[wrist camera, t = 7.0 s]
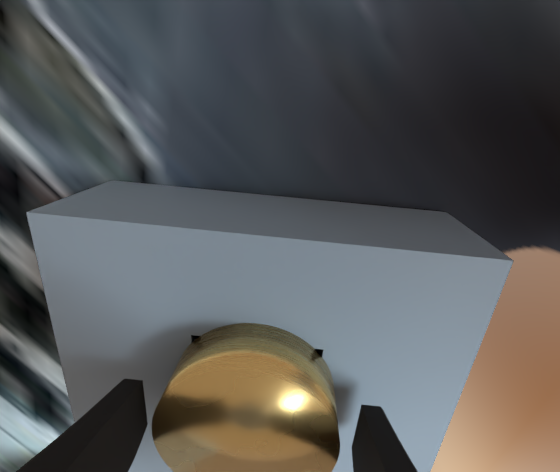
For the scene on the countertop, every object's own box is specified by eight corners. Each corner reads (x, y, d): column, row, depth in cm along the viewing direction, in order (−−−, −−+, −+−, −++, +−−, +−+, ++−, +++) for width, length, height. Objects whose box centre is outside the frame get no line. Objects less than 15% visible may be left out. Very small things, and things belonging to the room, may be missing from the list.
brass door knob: (332, 271, 14) (352, 380, 8) (320, 370, 16) (329, 510, 10) (204, 261, 14) (140, 361, 9) (209, 360, 16) (160, 492, 11)
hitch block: (446, 212, 13) (513, 260, 9) (386, 419, 18) (412, 516, 13) (111, 180, 14) (26, 212, 9) (136, 390, 18) (86, 475, 14)
